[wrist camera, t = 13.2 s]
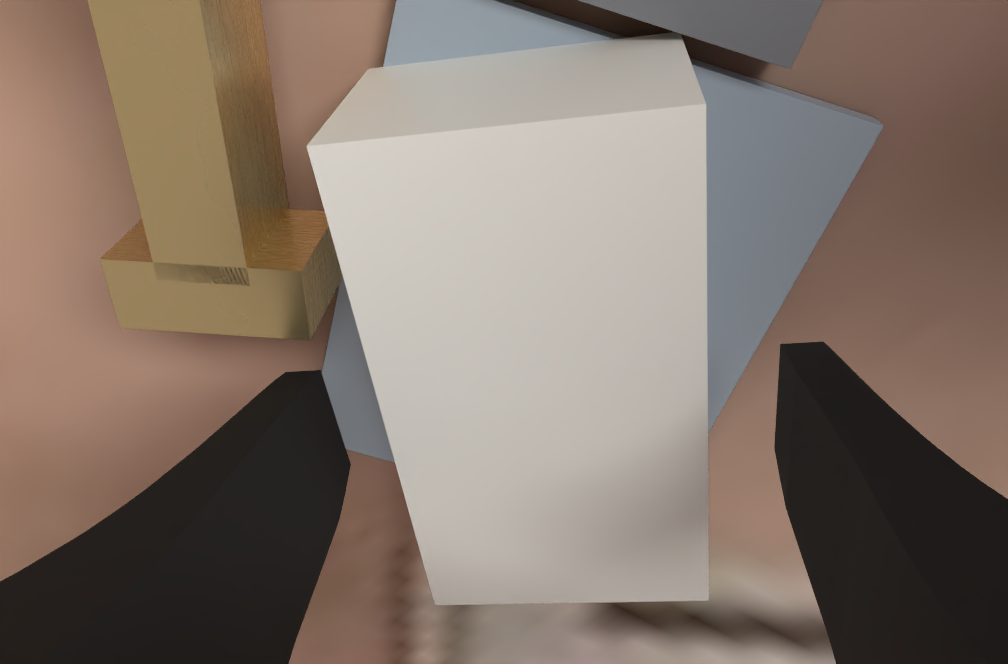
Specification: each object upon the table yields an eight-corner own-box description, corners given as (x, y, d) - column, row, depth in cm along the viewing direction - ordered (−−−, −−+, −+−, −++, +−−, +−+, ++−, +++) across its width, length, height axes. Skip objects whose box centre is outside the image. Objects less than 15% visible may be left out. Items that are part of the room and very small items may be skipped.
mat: (876, 118, 14) (883, 126, 13) (650, 519, 19) (651, 532, 19) (407, -34, 13) (401, -30, 13) (313, 427, 18) (308, 439, 18)
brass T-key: (62, -304, 10) (-106, -335, 8) (296, -301, 10) (199, -331, 8) (186, 251, 15) (103, 346, 12) (350, 261, 15) (301, 359, 12)
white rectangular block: (680, 31, 13) (705, 104, 10) (689, 465, 17) (708, 600, 15) (368, 68, 13) (307, 145, 10) (460, 474, 18) (435, 605, 15)
